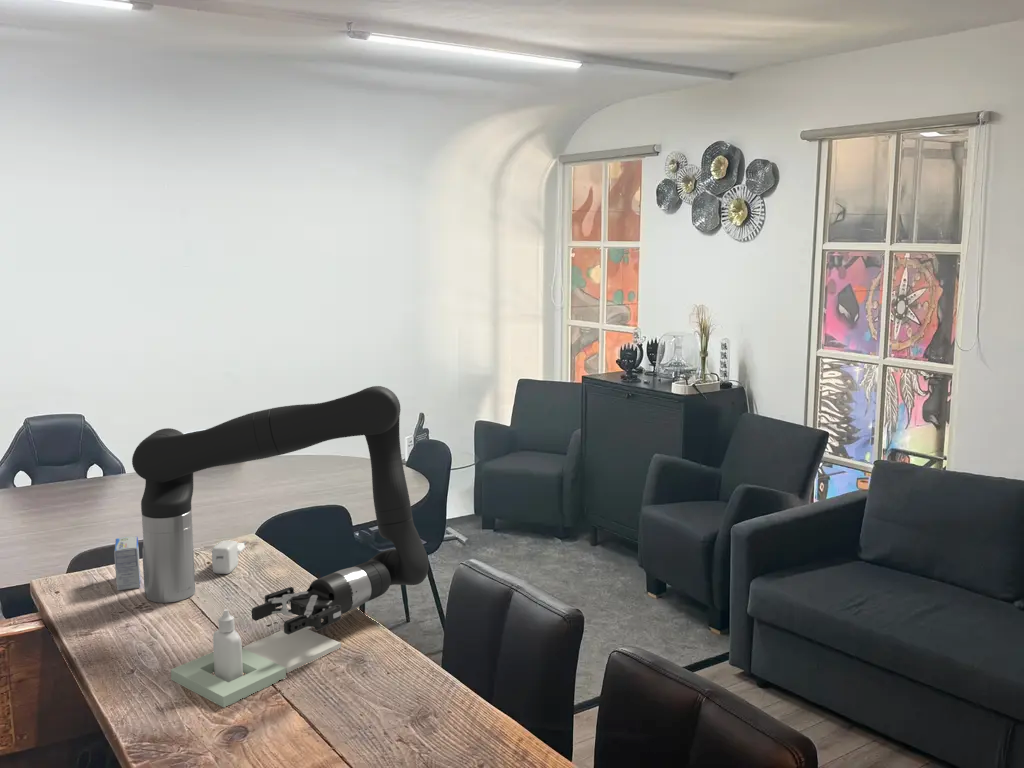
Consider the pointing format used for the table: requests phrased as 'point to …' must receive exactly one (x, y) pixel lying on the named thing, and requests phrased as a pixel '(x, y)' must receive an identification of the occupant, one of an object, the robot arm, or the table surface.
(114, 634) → the table surface
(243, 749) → the table surface
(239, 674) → the eye dropper bottle
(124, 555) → the medicine box
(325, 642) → the tile
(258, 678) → the holder
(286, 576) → the table surface
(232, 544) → the power adapter
